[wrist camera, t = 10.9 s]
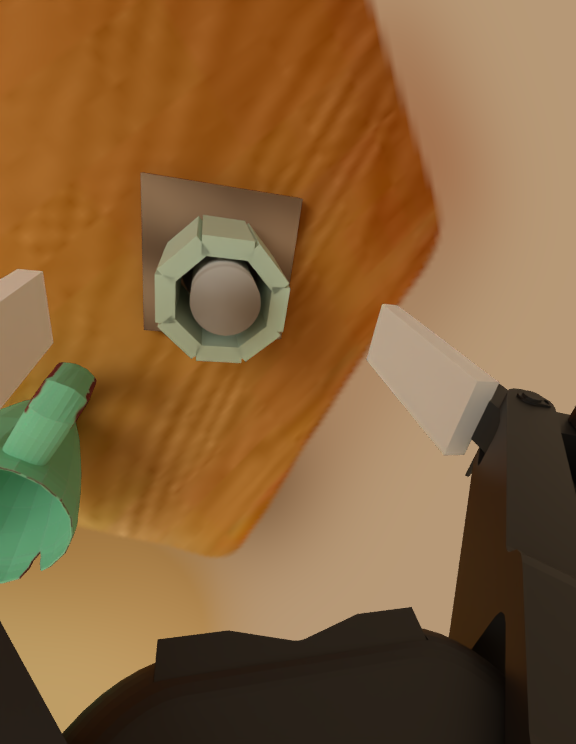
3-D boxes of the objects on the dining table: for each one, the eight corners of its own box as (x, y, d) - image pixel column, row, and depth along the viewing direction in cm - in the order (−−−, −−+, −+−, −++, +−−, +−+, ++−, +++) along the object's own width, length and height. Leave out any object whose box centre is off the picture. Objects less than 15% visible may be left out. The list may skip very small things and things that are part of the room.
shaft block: (143, 172, 23) (111, 174, 15) (299, 198, 25) (340, 210, 18) (145, 325, 27) (122, 386, 20) (278, 334, 30) (304, 392, 22)
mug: (76, 487, 33) (30, 599, 24) (-53, 443, 29) (-163, 560, 20) (164, 363, 29) (147, 444, 21) (30, 290, 25) (-62, 354, 16)
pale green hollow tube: (165, 209, 23) (154, 228, 18) (278, 225, 24) (297, 246, 19) (165, 316, 26) (155, 358, 21) (264, 324, 28) (277, 364, 23)
